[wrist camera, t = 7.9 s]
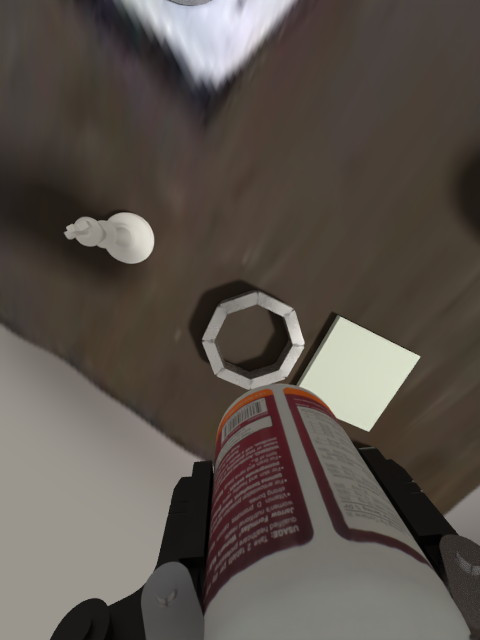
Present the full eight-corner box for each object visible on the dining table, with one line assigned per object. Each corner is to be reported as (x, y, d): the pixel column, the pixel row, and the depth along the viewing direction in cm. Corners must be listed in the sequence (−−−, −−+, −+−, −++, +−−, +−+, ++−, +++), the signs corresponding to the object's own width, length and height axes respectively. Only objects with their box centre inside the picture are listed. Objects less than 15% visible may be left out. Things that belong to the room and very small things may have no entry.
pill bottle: (218, 481, 14) (166, 1269, 3) (215, 379, 13) (100, 1197, 2) (329, 479, 14) (651, 1224, 3) (340, 377, 13) (988, 1119, 2)
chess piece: (163, 249, 26) (125, 246, 17) (122, 272, 27) (62, 281, 17) (137, 203, 25) (79, 171, 16) (94, 227, 26) (13, 210, 16)
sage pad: (290, 394, 31) (292, 398, 30) (337, 315, 29) (340, 316, 28) (365, 427, 33) (368, 431, 32) (415, 354, 31) (420, 356, 30)
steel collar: (192, 357, 29) (189, 364, 28) (231, 276, 27) (231, 278, 25) (270, 391, 31) (273, 400, 29) (313, 316, 29) (319, 321, 27)
